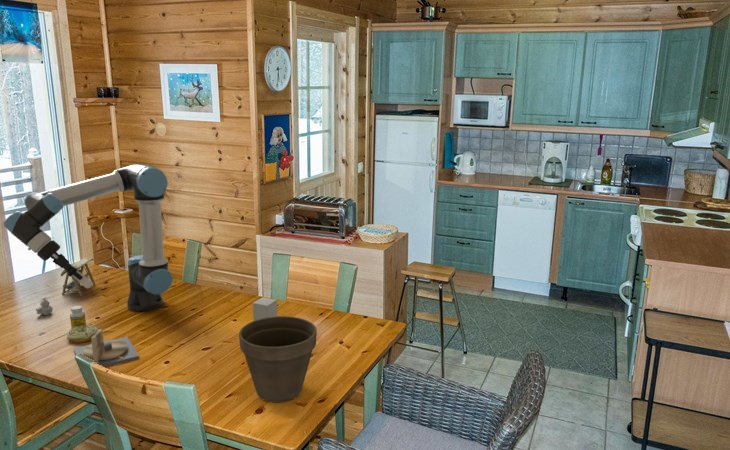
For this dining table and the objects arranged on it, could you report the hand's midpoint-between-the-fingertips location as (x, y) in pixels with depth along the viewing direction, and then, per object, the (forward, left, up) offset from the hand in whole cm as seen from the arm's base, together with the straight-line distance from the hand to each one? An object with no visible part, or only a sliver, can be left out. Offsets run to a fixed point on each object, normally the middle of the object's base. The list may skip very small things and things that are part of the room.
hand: (89, 285), depth 212 cm
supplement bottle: (+3, -17, -24) cm, 29 cm away
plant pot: (-45, +69, -24) cm, 85 cm away
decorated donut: (+3, -8, -24) cm, 26 cm away
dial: (-1, +13, -22) cm, 26 cm away
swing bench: (-4, -65, -24) cm, 69 cm away
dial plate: (-2, +12, -24) cm, 26 cm away
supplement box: (-61, +23, -24) cm, 69 cm away
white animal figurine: (+13, -41, -24) cm, 49 cm away
